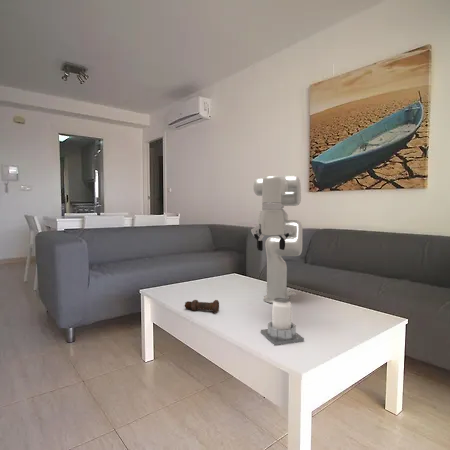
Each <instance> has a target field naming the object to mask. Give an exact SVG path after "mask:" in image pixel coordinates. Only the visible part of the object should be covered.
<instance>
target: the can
mask: <svg viewBox="0 0 450 450" xmlns="http://www.w3.org/2000/svg"><path fill="white" fill-rule="evenodd" d="M289 299H290V298H289ZM289 299H287V298H275V299H274V302H273V303H272V317H271V318H272V320H271V321H272V327H273V328H275V329H279V330H288V329H291V323H292V303H291V299H290V300H289Z"/></svg>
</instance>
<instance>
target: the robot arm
mask: <svg viewBox="0 0 450 450" xmlns="http://www.w3.org/2000/svg"><path fill="white" fill-rule="evenodd" d="M253 192H254V194H255V195H256V196H259V197H260V196H261V201H262V202H261V210H260V211H259V214H258V221H257V226H255V227H253V228H251V230H250V233H251V234H252V236H253V238H254V239H255V240H256V249H257V251H259V252H263V250H264V249H263V243H264V242H263V238H264V237H267V239H266V240H265V245H264V246H265V253H266V295H265V296H263V301H264V302H266V303H267V304H268V303H269V304H273V302H274V299H275V298H287V299H289V300H290V301H291V299H290V297H295V296H296V295H297V294H296V292H295V291H290V290H289V291H288V290H287V286H288V285H287V281H288V280H287V279H288V277H287V276H288V266H287V262H286V261H285V260H284V258H283V257H299V256H300V255H301V254H302V252H303V224H302V222H301V221H299V220H295V219H289V214H288V213H287V212H286V210H285V209H284V208H285V207H294V206H295V207H296V206H299V205H300V203H301V202H302V187H301V180H300V177H299V176H297V175H294V174H293V175H291V174H290V175H268V176H264V177H258V178H255V180H254V182H253Z"/></svg>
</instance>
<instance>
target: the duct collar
mask: <svg viewBox="0 0 450 450" xmlns="http://www.w3.org/2000/svg"><path fill="white" fill-rule="evenodd" d="M260 333H261V334H262V335H263V336H264V337H265V338H266V339H267V340H268V341H269V342H270V343H271V344H272V345H273V344H274V345H273V346H280V345H281V344H282V345H288V344H295V343H301V342H300V341H302V342H304V341H305V338H304V337H303V336H301V335H300V334H299V333H297V325H295V324H294V323H293V322H291V329H288V330H279V329H275V328H273V327H272V320H271V321H269V322H268V323H267V328H265V329H260ZM294 342H295V343H294Z"/></svg>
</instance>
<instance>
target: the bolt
mask: <svg viewBox="0 0 450 450" xmlns="http://www.w3.org/2000/svg"><path fill="white" fill-rule="evenodd" d="M184 308H185V309H187V310H188V309H189V310H191V311H193V312H196V311H198V310H200V311H201V310H204V311H212V313H213V314H217V313H219V309H220V302H219V300H218V299H215V300H213V301H212V302H205V301H199V300H198V299H193V300H191V301H186V302H184Z"/></svg>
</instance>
